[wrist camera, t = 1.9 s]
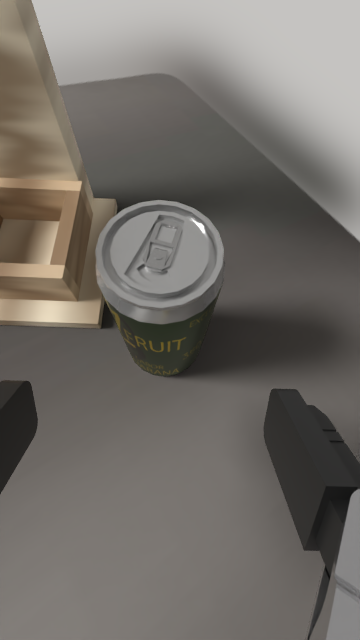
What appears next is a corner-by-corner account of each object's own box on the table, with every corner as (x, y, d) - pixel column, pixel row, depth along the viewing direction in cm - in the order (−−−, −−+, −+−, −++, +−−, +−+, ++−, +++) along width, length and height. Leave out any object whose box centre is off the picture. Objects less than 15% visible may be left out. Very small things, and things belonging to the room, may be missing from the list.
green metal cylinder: (142, 303, 23) (117, 183, 12) (207, 321, 23) (241, 212, 12) (119, 367, 21) (65, 291, 10) (189, 387, 21) (212, 331, 10)
